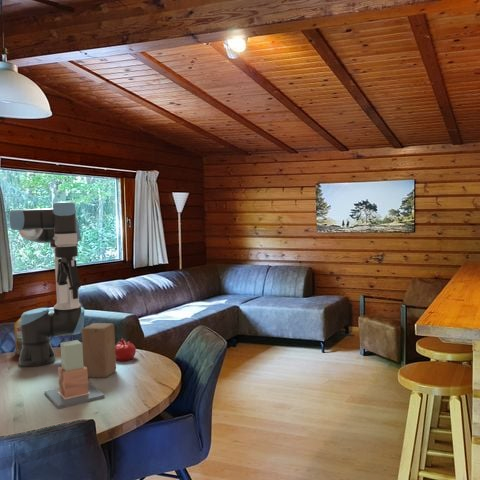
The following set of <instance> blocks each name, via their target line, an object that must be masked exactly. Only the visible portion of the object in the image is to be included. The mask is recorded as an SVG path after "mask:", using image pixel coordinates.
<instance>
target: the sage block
mask: <svg viewBox="0 0 480 480" xmlns="http://www.w3.org/2000/svg"><path fill="white" fill-rule="evenodd" d="M60 358H61V367H62V368H63V369H64V370H65V371H66V372H67V371H72V370H77V369H82V368H84V367H83V348H82V341H79V340H78V339H74V340H69V341H63V342H60Z"/></svg>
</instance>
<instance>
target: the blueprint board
mask: <svg viewBox="0 0 480 480" xmlns="http://www.w3.org/2000/svg"><path fill="white" fill-rule="evenodd" d="M88 392H89V393H86V394H82V395H77V396H73V397H69V398H65V397H64V396H63V395H62V394H61V393H60V392H59V388H58V387H57V388H52V389H48V390H45V391H44V396H46V397H47V398H48V399H49V401H50V402H52V403H51V404H53V405H54V406H55V407H56V409H58V410H59V409H62V408H67V407H71V406H75V405H79V404H83V403H87V402H88V403H89V402H91V401H92V402H93V401H96V400H101V399H105V398H104V397H105V394H104V393H103V392H101V390H99V388H96V387H95V385H93V384H92V383H90V382H89V381H88ZM100 398H101V399H100Z"/></svg>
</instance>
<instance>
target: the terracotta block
mask: <svg viewBox="0 0 480 480" xmlns="http://www.w3.org/2000/svg"><path fill="white" fill-rule="evenodd" d="M83 367H84V368H82V369H77V370H72V371H67V372H66V371H65V370H64V369H63V368H62V366H59V367H58V366H57V372H58V373H57V374H58V386H59V392H60V393H61V394H62V395H63V396H64V397H65V398H69V397H73V396H77V395H82V394H86V393H89V392H88V382H89V377H88V372H87V368H86V367H85V366H84V365H83Z"/></svg>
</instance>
